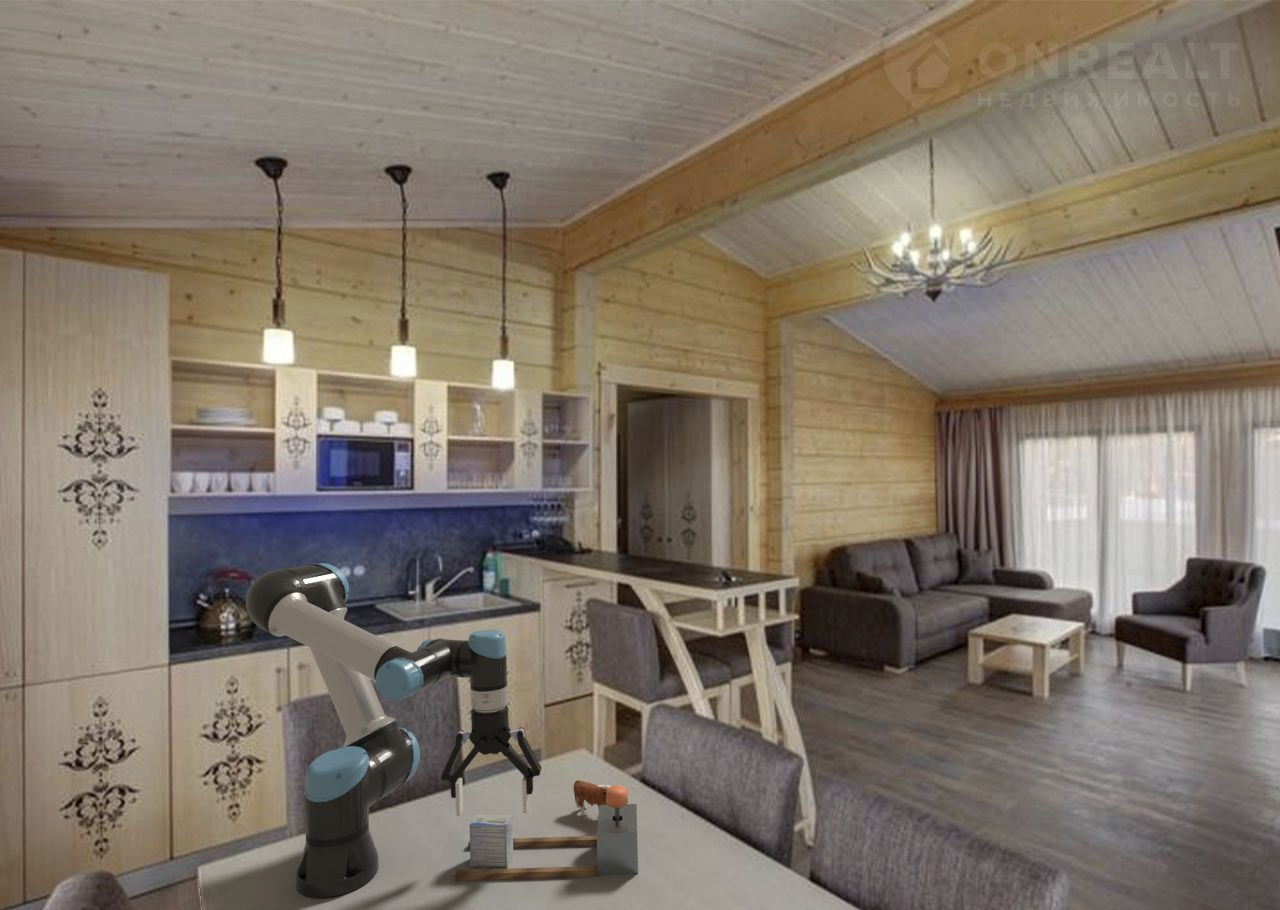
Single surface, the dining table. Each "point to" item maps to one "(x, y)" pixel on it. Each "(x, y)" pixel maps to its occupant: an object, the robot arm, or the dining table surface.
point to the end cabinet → (617, 840)
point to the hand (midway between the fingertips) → (492, 811)
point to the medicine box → (491, 840)
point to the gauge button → (617, 799)
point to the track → (535, 872)
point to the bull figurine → (589, 794)
